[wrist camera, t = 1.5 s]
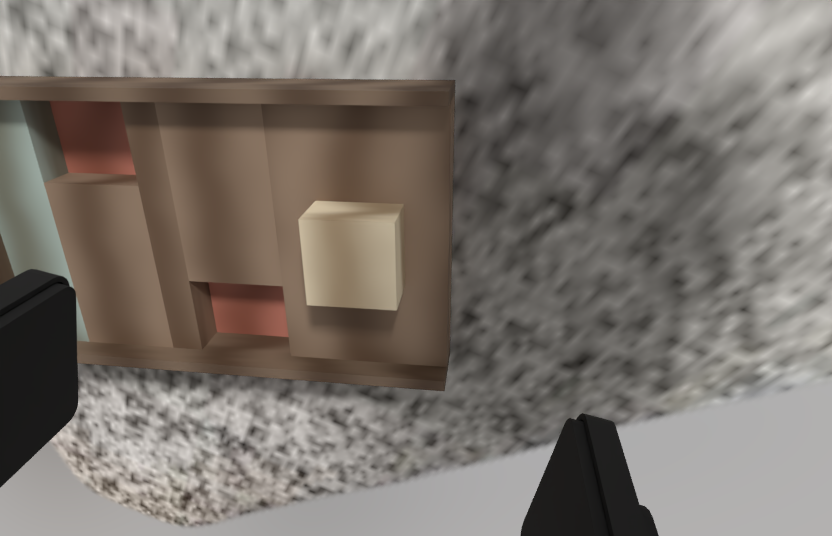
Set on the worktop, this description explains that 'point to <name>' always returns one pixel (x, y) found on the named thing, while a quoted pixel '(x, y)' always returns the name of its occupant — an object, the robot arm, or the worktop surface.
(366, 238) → the maple block
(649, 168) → the worktop surface
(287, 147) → the box
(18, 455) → the robot arm
